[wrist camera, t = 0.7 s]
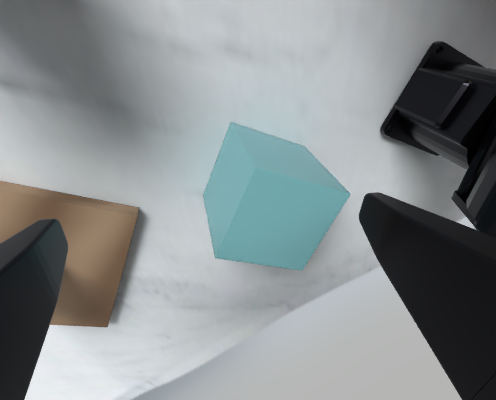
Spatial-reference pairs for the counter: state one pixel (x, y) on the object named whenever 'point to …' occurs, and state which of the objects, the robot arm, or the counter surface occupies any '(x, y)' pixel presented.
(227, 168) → the teal cube
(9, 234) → the base board
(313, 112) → the counter surface
